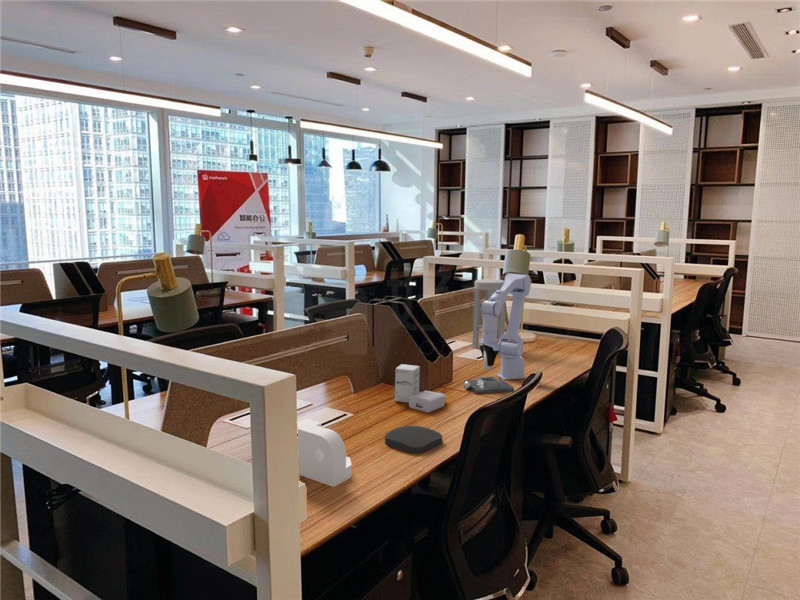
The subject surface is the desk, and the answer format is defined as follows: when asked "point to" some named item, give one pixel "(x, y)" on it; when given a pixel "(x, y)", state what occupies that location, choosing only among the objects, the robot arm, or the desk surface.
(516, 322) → the robot arm
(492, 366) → the spout can
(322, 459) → the tape dispenser
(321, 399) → the desk surface
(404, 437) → the media streaming box
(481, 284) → the stool
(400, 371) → the supplement box
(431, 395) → the charger
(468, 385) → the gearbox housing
